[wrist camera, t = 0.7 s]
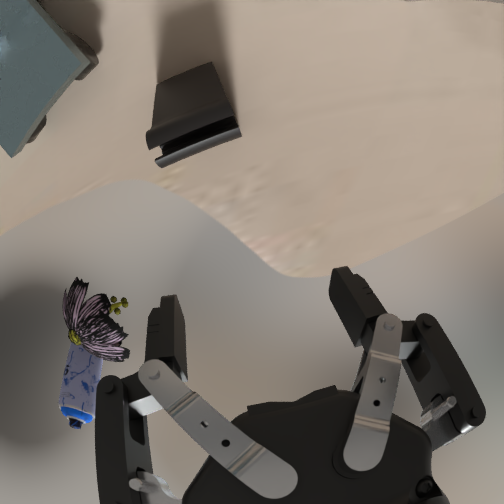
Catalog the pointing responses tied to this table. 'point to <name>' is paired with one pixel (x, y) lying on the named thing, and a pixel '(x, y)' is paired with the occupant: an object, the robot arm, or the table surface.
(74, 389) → the aerosol can
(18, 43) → the trolley
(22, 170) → the table surface
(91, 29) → the table surface
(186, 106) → the triangular clip stand
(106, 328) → the decorative flower
